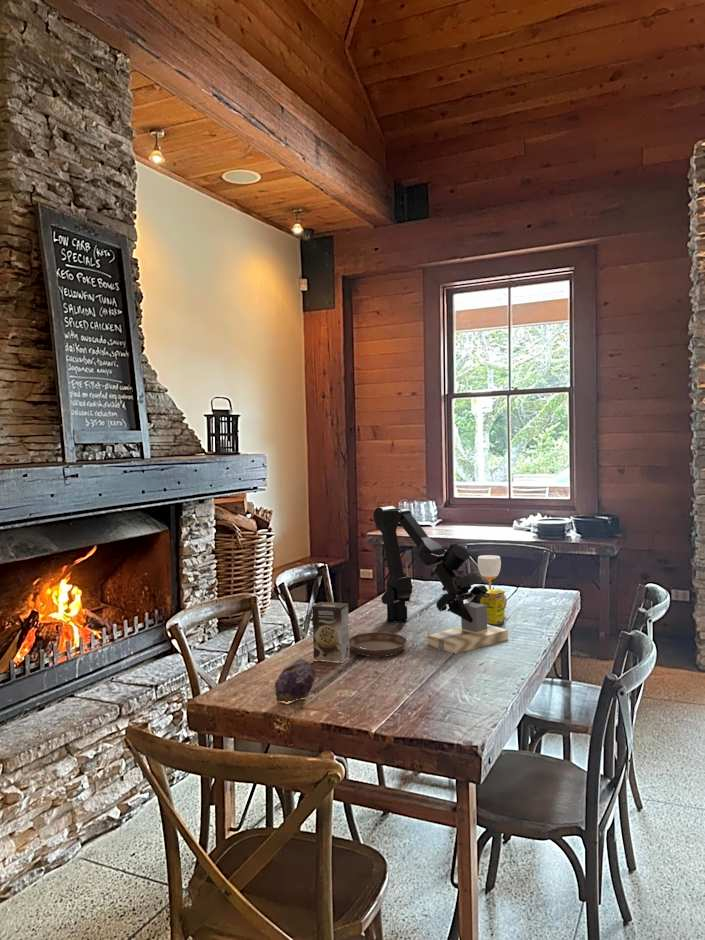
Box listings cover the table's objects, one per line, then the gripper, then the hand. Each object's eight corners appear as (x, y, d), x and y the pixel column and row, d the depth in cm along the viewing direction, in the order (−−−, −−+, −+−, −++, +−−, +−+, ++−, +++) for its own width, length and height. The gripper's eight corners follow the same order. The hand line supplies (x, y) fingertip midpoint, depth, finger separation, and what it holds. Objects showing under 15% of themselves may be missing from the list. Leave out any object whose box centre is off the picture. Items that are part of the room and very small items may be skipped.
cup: (506, 597, 277) (505, 556, 276) (493, 602, 270) (492, 559, 269) (486, 594, 283) (485, 554, 282) (473, 599, 276) (472, 557, 276)
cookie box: (312, 661, 207) (310, 606, 206) (321, 655, 213) (319, 600, 212) (342, 664, 204) (340, 607, 203) (350, 657, 210) (348, 602, 209)
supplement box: (497, 627, 237) (496, 594, 236) (480, 624, 240) (479, 592, 240) (505, 622, 241) (504, 590, 241) (488, 620, 245) (488, 588, 244)
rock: (271, 709, 176) (309, 711, 173) (266, 676, 174) (304, 678, 171) (290, 685, 187) (326, 687, 183) (285, 654, 185) (322, 656, 182)
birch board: (455, 654, 210) (454, 643, 209) (427, 644, 219) (427, 635, 219) (508, 639, 222) (507, 629, 222) (479, 631, 232) (479, 622, 232)
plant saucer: (418, 651, 214) (418, 641, 214) (368, 663, 205) (367, 652, 205) (386, 638, 229) (385, 629, 229) (337, 648, 220) (337, 638, 220)
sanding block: (461, 630, 223) (460, 604, 223) (472, 627, 226) (471, 601, 226) (476, 634, 219) (475, 608, 218) (487, 630, 222) (486, 605, 221)
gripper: (442, 568, 218) (471, 610, 211) (482, 559, 230) (511, 599, 223) (424, 590, 225) (451, 631, 217) (464, 580, 237) (491, 619, 229)
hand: (477, 620), depth 221 cm, fingers closed on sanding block, 5 cm apart
